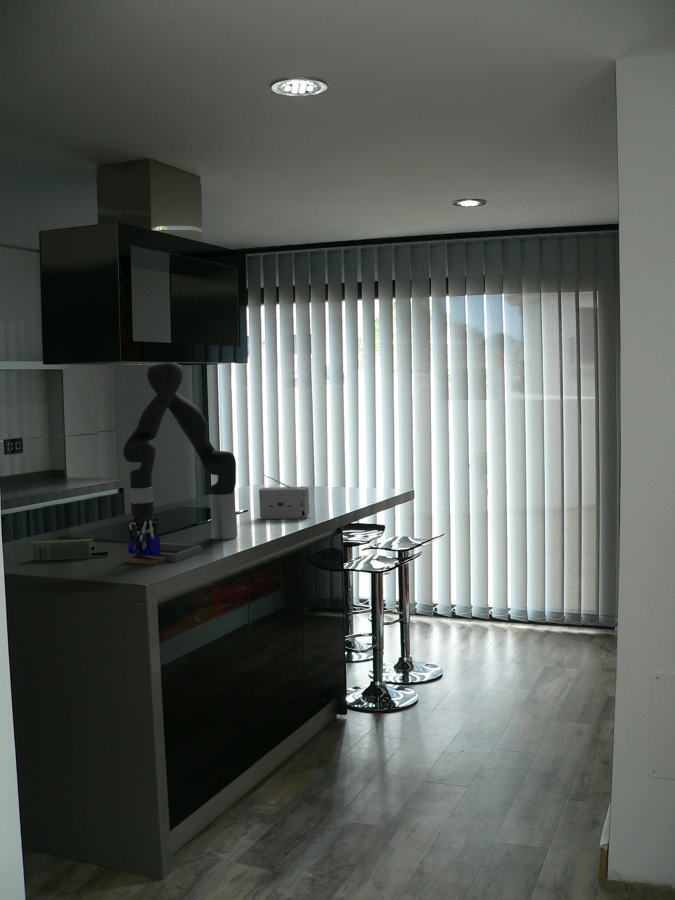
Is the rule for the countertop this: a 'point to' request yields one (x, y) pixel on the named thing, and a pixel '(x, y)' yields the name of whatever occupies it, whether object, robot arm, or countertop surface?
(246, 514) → the countertop surface
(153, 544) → the cable clip
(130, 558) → the walnut pad
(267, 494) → the stereo radio cassette player
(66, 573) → the countertop surface
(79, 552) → the handheld radio
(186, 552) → the grey shallow tray
